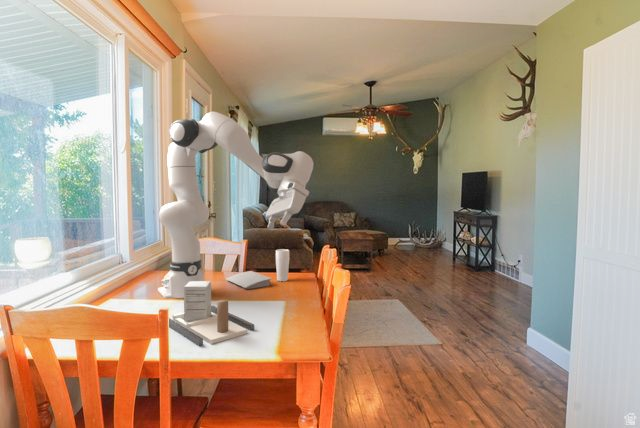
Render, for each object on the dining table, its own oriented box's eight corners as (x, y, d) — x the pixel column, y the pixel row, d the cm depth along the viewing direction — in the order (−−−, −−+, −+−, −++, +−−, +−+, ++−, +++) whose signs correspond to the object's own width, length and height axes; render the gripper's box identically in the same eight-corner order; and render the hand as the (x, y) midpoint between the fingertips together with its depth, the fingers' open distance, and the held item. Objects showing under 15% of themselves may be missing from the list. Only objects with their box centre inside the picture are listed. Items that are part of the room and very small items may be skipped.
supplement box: (189, 317, 126) (189, 280, 126) (211, 317, 127) (211, 280, 126) (183, 325, 119) (183, 286, 118) (207, 324, 120) (206, 286, 119)
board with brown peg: (172, 320, 123) (172, 290, 122) (206, 312, 131) (206, 284, 131) (211, 344, 104) (210, 308, 104) (247, 333, 113) (247, 300, 112)
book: (252, 277, 190) (252, 270, 190) (276, 286, 172) (276, 278, 172) (224, 281, 180) (224, 273, 180) (246, 292, 162) (246, 283, 162)
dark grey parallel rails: (162, 322, 122) (162, 316, 121) (212, 310, 134) (212, 305, 134) (199, 346, 103) (199, 339, 103) (254, 330, 116) (254, 324, 116)
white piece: (287, 282, 178) (287, 251, 177) (273, 281, 179) (273, 250, 178) (290, 279, 185) (291, 249, 184) (277, 278, 186) (278, 248, 185)
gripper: (270, 194, 140) (255, 226, 134) (297, 181, 123) (282, 218, 117) (283, 202, 142) (270, 234, 137) (312, 191, 125) (297, 227, 120)
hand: (275, 226), depth 127 cm, fingers open, 8 cm apart
